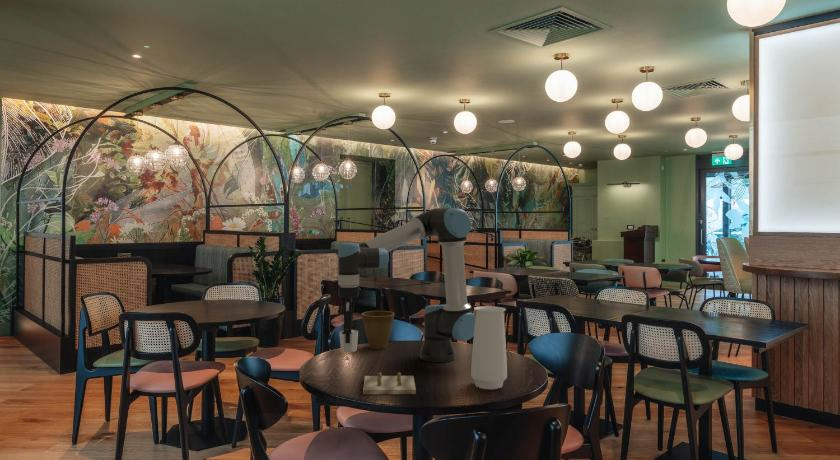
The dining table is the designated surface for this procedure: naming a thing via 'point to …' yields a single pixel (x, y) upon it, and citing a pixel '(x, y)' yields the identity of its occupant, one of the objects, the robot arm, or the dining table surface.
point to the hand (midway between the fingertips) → (348, 349)
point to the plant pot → (378, 328)
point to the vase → (489, 348)
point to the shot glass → (354, 340)
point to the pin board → (389, 384)
